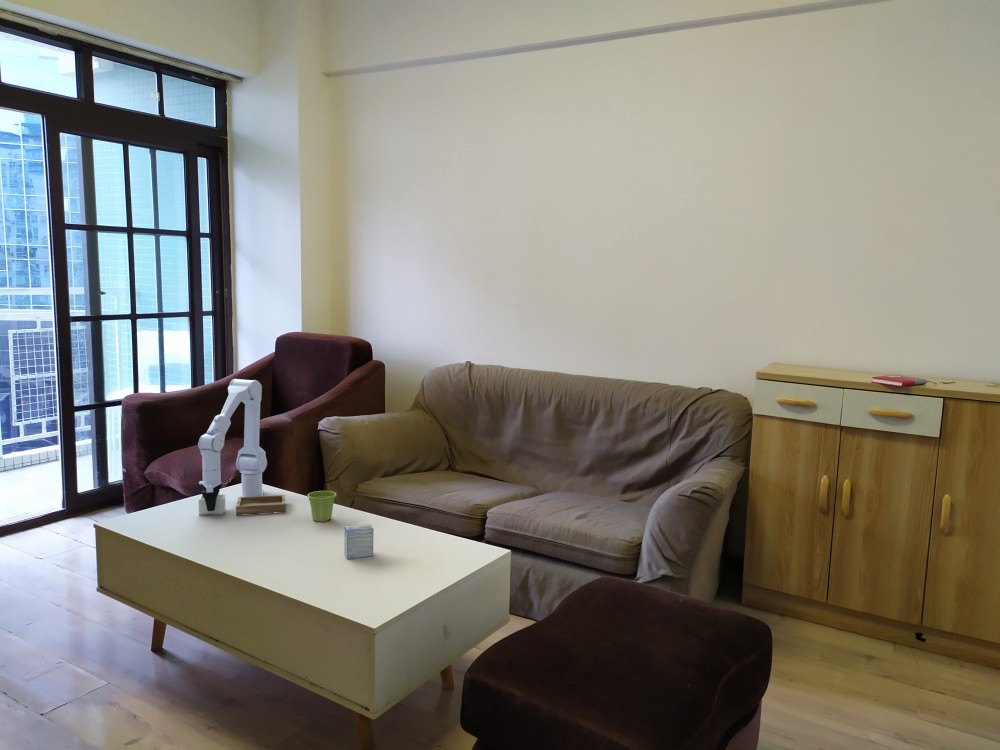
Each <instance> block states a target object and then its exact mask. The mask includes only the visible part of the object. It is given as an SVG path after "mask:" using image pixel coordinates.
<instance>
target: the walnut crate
mask: <svg viewBox="0 0 1000 750" xmlns="http://www.w3.org/2000/svg"><path fill="white" fill-rule="evenodd" d="M274 512H285V513H286V494H279V495H277V494H275V495H263V496H253V497H239V496H238V497H237V502H236V506H235V516H244V515H243V514H253V515H261V514H260V513H271V514H275V513H274Z"/></svg>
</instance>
